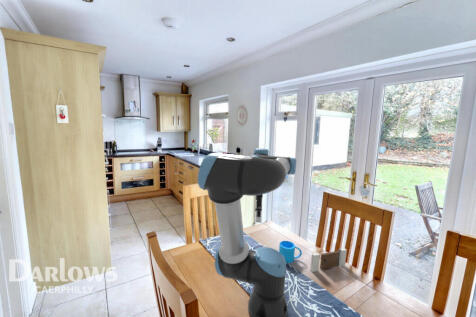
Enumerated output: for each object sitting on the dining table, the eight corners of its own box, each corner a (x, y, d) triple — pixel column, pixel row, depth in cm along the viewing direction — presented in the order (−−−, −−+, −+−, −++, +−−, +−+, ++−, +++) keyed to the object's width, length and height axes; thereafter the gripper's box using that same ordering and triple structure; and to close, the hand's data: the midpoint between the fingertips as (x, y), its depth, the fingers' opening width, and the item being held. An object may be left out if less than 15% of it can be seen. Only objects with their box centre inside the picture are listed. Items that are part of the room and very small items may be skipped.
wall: (344, 265, 116) (346, 249, 114) (312, 272, 110) (314, 254, 108) (342, 264, 117) (344, 247, 116) (310, 270, 111) (312, 252, 110)
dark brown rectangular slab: (338, 268, 113) (340, 253, 112) (323, 271, 110) (324, 256, 109) (335, 265, 116) (336, 251, 114) (319, 268, 113) (321, 253, 111)
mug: (279, 262, 117) (280, 248, 116) (278, 253, 125) (279, 240, 124) (302, 264, 116) (303, 250, 114) (299, 255, 124) (301, 242, 122)
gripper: (252, 172, 129) (250, 207, 132) (252, 183, 104) (250, 226, 107) (265, 173, 128) (263, 208, 131) (268, 184, 103) (266, 227, 107)
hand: (257, 216), depth 119 cm, fingers open, 13 cm apart
